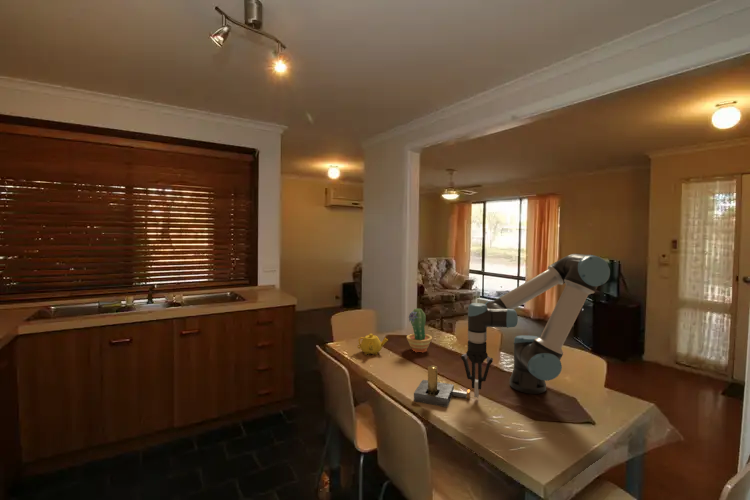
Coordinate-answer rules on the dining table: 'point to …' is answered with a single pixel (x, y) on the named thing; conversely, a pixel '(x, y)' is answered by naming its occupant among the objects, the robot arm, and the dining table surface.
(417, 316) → the potted cactus
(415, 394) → the block
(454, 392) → the lock pin
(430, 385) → the cylinder
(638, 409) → the dining table surface
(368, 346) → the teapot
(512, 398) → the dining table surface
